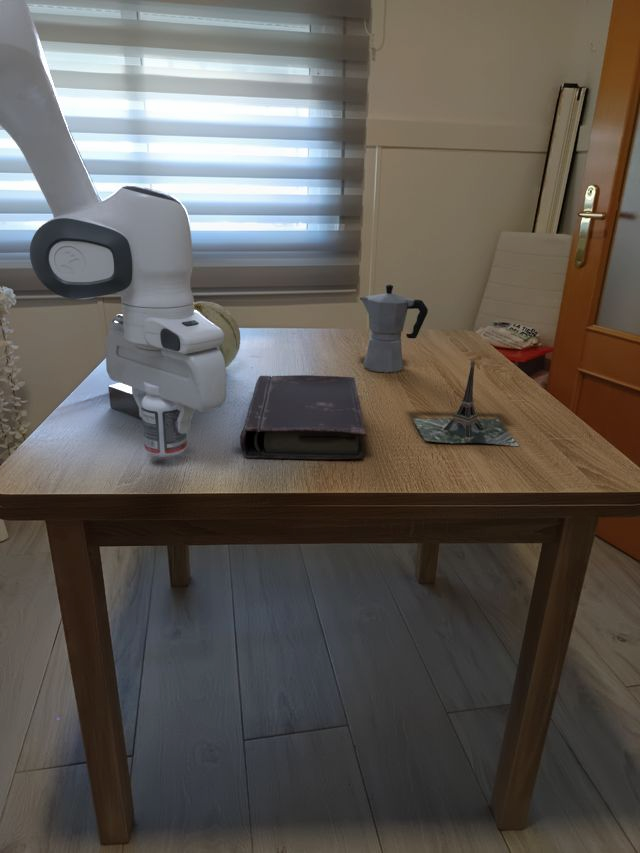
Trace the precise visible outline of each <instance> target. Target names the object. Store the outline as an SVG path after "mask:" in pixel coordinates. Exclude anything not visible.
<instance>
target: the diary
mask: <svg viewBox="0 0 640 853" xmlns="http://www.w3.org/2000/svg"><path fill="white" fill-rule="evenodd" d="M359 398H360V396H359V393H358V388H357V383H356V378H355V377H354V376H337V375H336V376H335V375H312V374H311V375H308V374H304V375H303V374H300V375H299V374H298V375H297V374H296V375H295V374H294V375H293V374H292V375H260V376H258V378H257V380H256V382H255V386H254V390H253V394H252V398H251V401H250V403H249V407H248V409H247V414H246V417H245V421H244V425H243V428H242V431H241V433H240V436H239V445H240V448H241V452H242V455H243V457H245V458H247V459H249V458H251V459H253V458H255V459H257V458H260V459H289V460H290V459H293V460H294V459H296V460H326V461H327V460H328V461H329V460H330V461H331V460H358V459H361V458H365V457H366V456H365V453H364V449H363V444H362V439H361V438H362V437H361V436H364V437H366V436H367V431H366V425H365V422H364V418H363V412H362V409H361V404H360V403H361V402H360V399H359Z"/></svg>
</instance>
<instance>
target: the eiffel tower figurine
mask: <svg viewBox="0 0 640 853" xmlns="http://www.w3.org/2000/svg"><path fill="white" fill-rule="evenodd" d="M475 366H476V361H475V357H473V359H472V361H470V369H469V372H468V378H467V382H466V387H465V390H464V394H463V398H462V400H461V404H460V406H459V408H458V410H457V411H456V413H454V414H453V417H429V418H427V417H425V418H412V420H413V423H414V424H415V426H416V428H417V429H418V431H419V433H420V435H421V436H422V438H423V440H424V441H427V442H434V443H443V444H444V443H445V444H470V445H472V444H488V445H489V444H491V445H501V446H510V447H520V445H519V444H518V442H517V441H516V439H515V438H514V437H513V436H512V434H510V433H509V431H508V430H507V429H506V427H505V426H504V425H503V424H502V423H501V421H500V419H498V418H478V414H477V413H476V411H475V410H476V409H475V405H474V403H475V401H474V398H473V397H474V396H473V394H474V391H473V390H474V376H475V375H474V374H475Z"/></svg>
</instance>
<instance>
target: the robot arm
mask: <svg viewBox="0 0 640 853" xmlns="http://www.w3.org/2000/svg"><path fill="white" fill-rule="evenodd" d="M0 127H2V129H3V130H4V131H5V132H6V133H7V134H8V135H9V136H10V137H11V139H12V140H13V141H14V142H15V144H16V145H17V147H18V148H19V150H20V152H21V154H22V155H23V157H24V158H25V160H26V163H27V165H28V166H29V168H30V170H31V172H32V174H33V177H34V178H35V180H36V182H37V185H38V187H39V189H40V191H41V193H42V195H43V196H44V198H45V201H46V203H47V204H48V207H49V208H50V211H51V214H52V216H53V218H51V219H50V220H48V221H46V222H45V223H44V224H42V225H41V226H40V227H38V229H37V230H36V231H35V232H34V234H33V236H32V238H31V242H30V245H29V259H30V264H31V268H32V269H33V272H34V274H35V275H36V277H37V278H38V280H39V281H40V283H41V284H42V285H44V286H45V288H47V289H48V290H49V291H51V292H52V293H53V294H55V295H58V296H60V297H63V298H65V299H72V300H89V299H93V298H98V297H104V296H109V295H114V294H117V295H119V296H120V299H121V313H122V314H119V313H118V314H116V315H114V316H113V317H112V319H110V320H111V321H109V324H108V326H109V331H108V333H107V336H106V343H105V367H106V373H107V375H108V377H109V379H110V380H111V381H112V382H116V383H122V384H124V385H127V386H130V387H132V394H133V396H134V398H135V401H136V403H137V405H138V406H139V415H140V417H141V418H142V405H141V403H142V399H143V398H144V397H145V396H146V392H145V391H144V382H146V383H149V384H152V385H154V386H157V387H159V394H160V395H159V397H161V398H164V399H167V400H169V401H172V402H175V403H177V410H179V411H180V414H179V416H178V418H177V419H173V425H174V427H173V430H174V431H176V432H179V433H181V434H184V433H186V434H188V433H190V431H191V428H192V425H191V423H192V422H191V419H192V418H193V416H194V415H195V413H196V411H197V412H201V413H207V412H210V411H214V410H216V409H218V408H221V407H222V405H223V404H224V402H226V398H227V371H226V368H225V361H224V357H223V354H222V353H221V351H220V350H219V349H218V348H217V347H219V346H222V345H223V343H224V333H223V331H222V330H221V329H220V328H219V327H217V326H216V325H214V324H213V323H211V322H210V321H209V320H207V319H206V318H205V317H203V316H202V315H201V314H200V313H199V312H198V311H196V310H194V303H195V297H194V294H193V292H192V287H191V279H192V273H193V269H194V258H193V257H194V256H193V240H192V231H191V230H192V229H191V223H190V218H189V214H188V211H187V209H186V207H185V205H183V203H182V201H181V200H179V199H178V198H177V197H176V196H174V195H172V194H170V193H166V192H164V191H160V190H156V189H152V188H147V187H141V186H138V185H131V184H130V185H129V184H127V185H122V186H120V187H118V189H117V190H116V191H115V192H113V193H112V194H111V195H109V196H107V197H106V198H104V199H102V197H101V196H100V193H99V192H98V190H97V187H96V186H95V183H94V182H93V179H92V177H91V175H90V173H89V170H88V168H87V166H86V163H85V162H84V161H85V160H84V159H83V157H82V155H81V152H80V151H79V148H78V145H77V144H76V142H75V139H74V137H73V135H72V132H71V129H70V128H69V126H68V123H67V121H66V119H65V117H64V113H63V110H62V106H61V104H60V101H59V98H58V95H57V91H56V88H55V86H54V82H53V79H52V76H51V73H50V69H49V65H48V61H47V59H46V56H45V51H44V49H43V46H42V42H41V39H40V35H39V33H38V30H37V28H36V24H35V22H34V19H33V15H32V13H31V10H30V7H29V4H28V2H27V0H0Z"/></svg>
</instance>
